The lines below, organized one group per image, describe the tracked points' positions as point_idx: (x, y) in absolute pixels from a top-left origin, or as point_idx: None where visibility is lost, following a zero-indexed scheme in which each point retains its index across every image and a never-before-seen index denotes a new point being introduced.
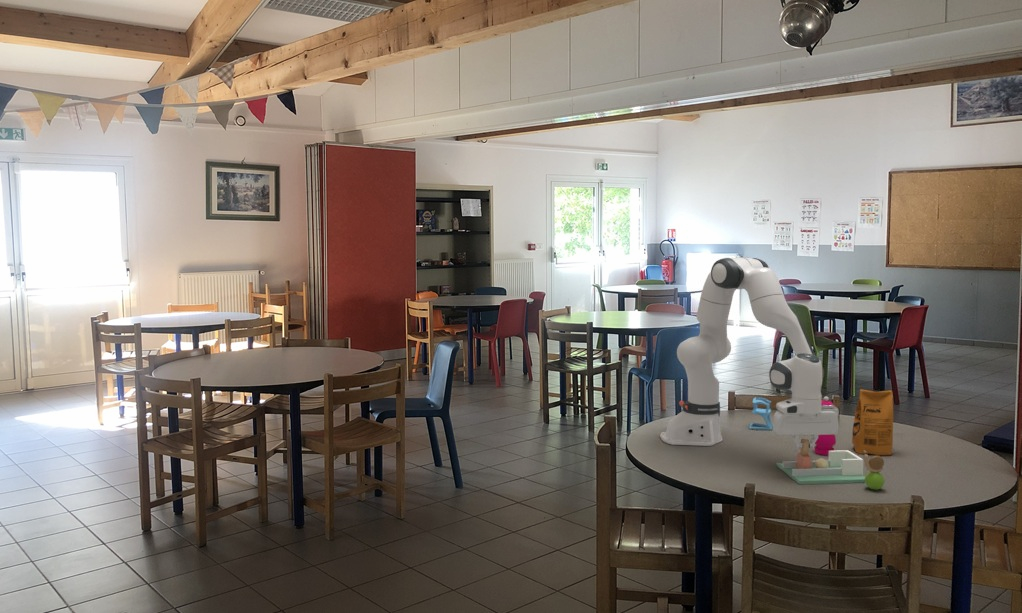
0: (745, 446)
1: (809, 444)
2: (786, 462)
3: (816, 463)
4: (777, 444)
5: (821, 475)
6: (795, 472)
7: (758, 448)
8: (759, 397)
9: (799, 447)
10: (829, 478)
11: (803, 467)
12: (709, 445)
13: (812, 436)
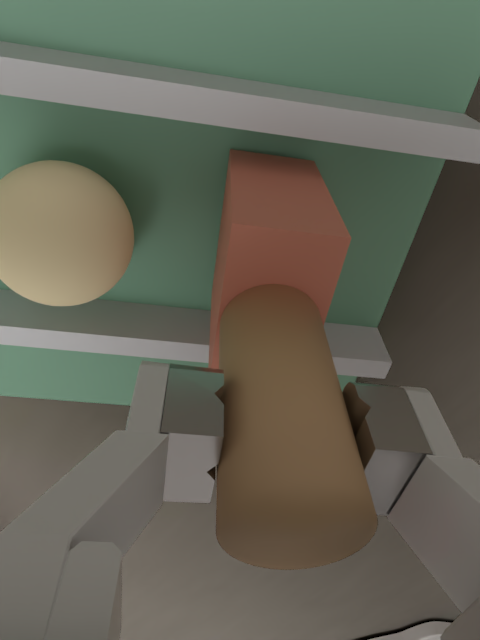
0: (288, 607)
1: (221, 424)
2: (364, 357)
3: (124, 241)
4: (126, 610)
5: (146, 57)
6: (457, 119)
7: (246, 589)
8: None
9: (406, 393)
10: None
11: (324, 183)
12: (440, 623)
13: (121, 601)
